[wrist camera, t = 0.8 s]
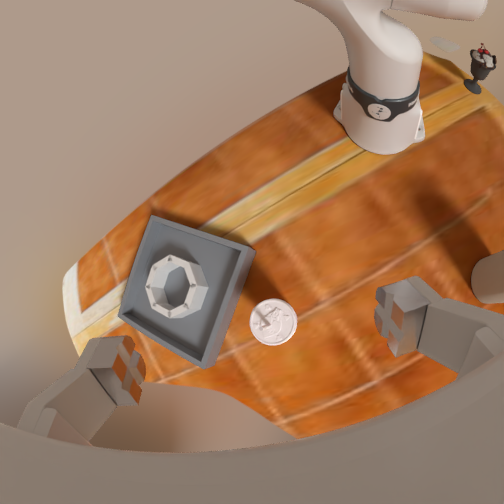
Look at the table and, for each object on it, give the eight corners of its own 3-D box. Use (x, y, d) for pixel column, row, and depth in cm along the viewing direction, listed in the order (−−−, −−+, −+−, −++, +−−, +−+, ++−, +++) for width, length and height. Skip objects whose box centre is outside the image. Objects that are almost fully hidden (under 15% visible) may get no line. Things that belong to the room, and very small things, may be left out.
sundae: (457, 84, 41) (471, 39, 27) (465, 73, 40) (478, 31, 26) (479, 101, 39) (498, 58, 25) (486, 89, 38) (503, 48, 24)
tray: (162, 220, 57) (147, 212, 52) (256, 251, 49) (246, 245, 44) (130, 316, 55) (113, 316, 50) (214, 365, 48) (200, 370, 43)
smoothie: (261, 327, 46) (229, 334, 33) (277, 293, 47) (251, 288, 33) (294, 344, 44) (274, 360, 31) (311, 309, 44) (299, 312, 31)
